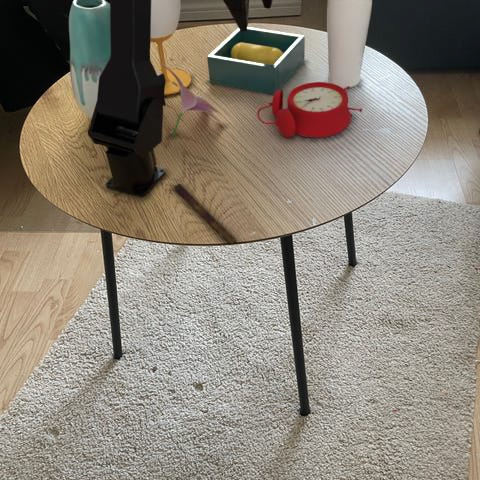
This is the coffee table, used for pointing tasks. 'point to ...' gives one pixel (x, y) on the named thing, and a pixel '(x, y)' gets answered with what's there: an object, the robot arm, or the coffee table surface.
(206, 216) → the dark brown stick
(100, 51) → the vase
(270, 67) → the open box
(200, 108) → the lily
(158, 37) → the cup
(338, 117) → the alarm clock
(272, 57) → the yellow capsule cylinder
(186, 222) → the coffee table surface
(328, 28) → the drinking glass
